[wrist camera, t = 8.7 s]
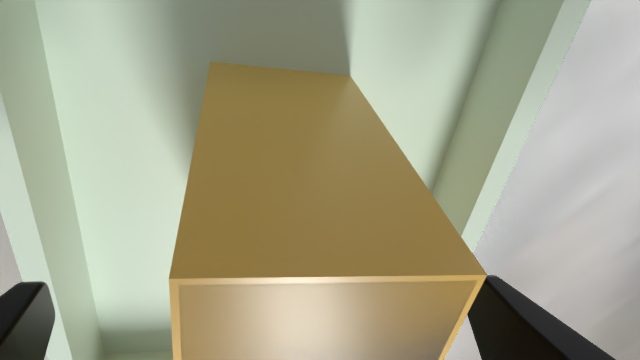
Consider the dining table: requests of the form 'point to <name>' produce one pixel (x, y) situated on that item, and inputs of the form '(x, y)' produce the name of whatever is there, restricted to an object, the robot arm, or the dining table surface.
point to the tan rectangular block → (310, 230)
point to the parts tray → (184, 112)
